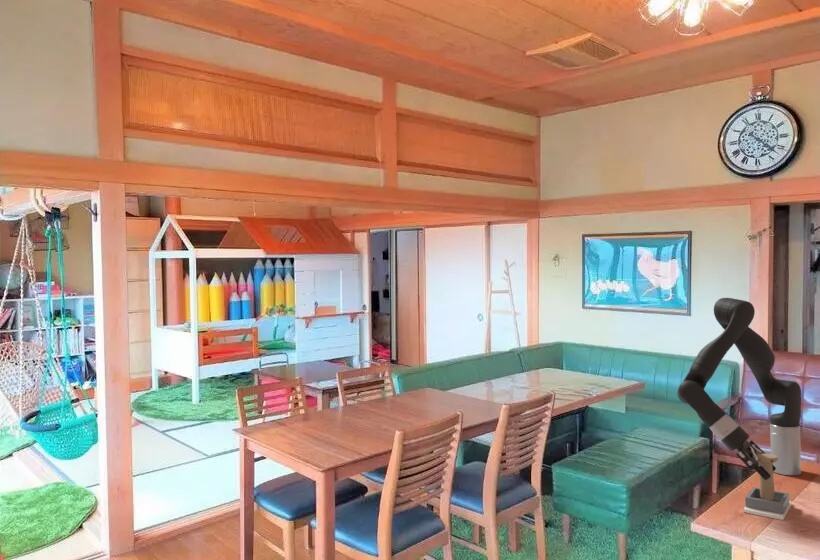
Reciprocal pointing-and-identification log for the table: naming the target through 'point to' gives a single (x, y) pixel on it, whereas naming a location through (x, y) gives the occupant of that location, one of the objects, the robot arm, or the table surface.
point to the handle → (768, 484)
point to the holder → (767, 504)
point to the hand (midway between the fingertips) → (771, 474)
